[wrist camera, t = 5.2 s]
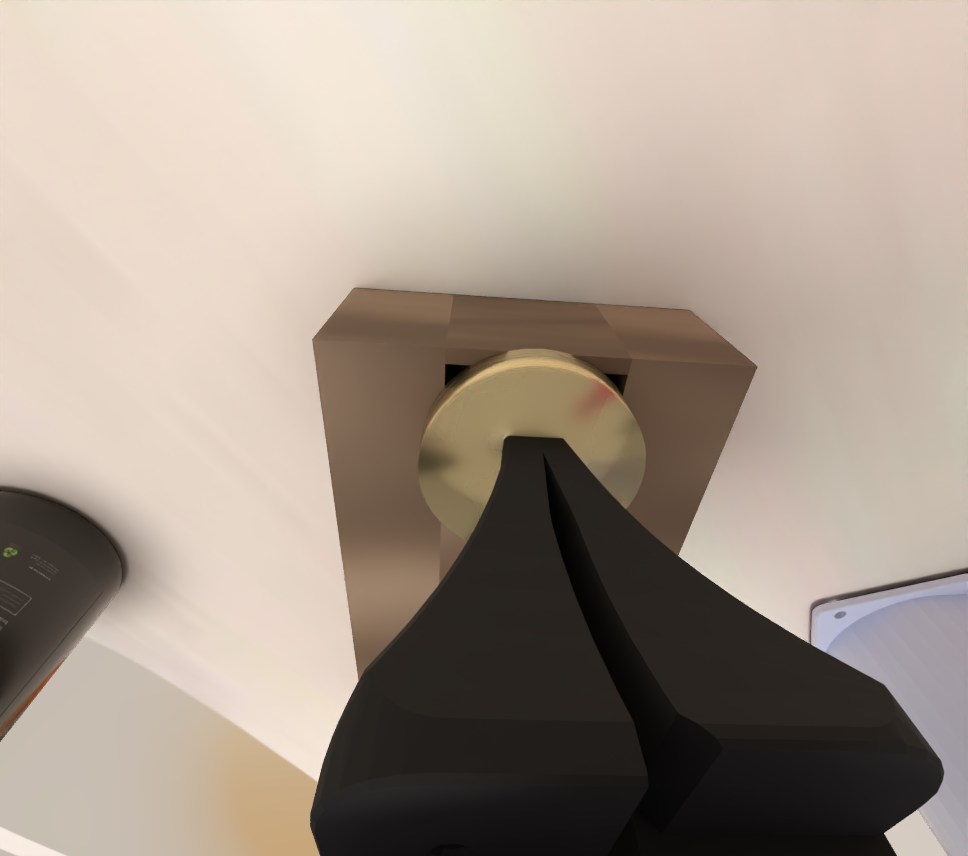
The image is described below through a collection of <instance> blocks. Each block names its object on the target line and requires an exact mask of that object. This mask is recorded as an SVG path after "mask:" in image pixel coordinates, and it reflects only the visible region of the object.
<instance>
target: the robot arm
mask: <svg viewBox="0 0 968 856" xmlns="http://www.w3.org/2000/svg"><path fill="white" fill-rule="evenodd" d="M917 809H918V811H919V812H920V814H921V815H922V817H923V819H924V820H925V821H926V823H927V825H928V826H929V828H930V829H931V831H932V832H933V834H934V835H935V837H936V838H937V840H938V841H939V843H940V845H941V846H942V848H943V849H944V851H945V852H946V853H947V855H948V856H968V573H966V574H961V575H957V576H952V577H947V578H943V579H938V580H933V581H929V582H924V583H919V584H914V585H910V586H905V587H900V588H896V589H891V590H886V591H882V592H877V593H872V594H868V595H863V596H858V597H854V598H849V599H844V600H839V601H835V602H830V603H825V604H822V605H819V606H817V607H815V608H814V609H813V612H812V630H811V644H809V643H807V642H805V641H804V640H802V639H800V638H799V637H797V636H795V635H794V634H792V633H790V632H789V631H787V630H785V629H784V628H782V627H780V626H779V625H777V624H776V623H774V622H772V621H771V620H769V619H767V618H766V617H764V616H763V615H761V614H759V613H758V612H756V611H755V610H753V609H752V608H750V607H749V606H747V605H745V604H744V603H742V602H741V601H739V600H738V599H736V598H735V597H733V596H732V595H730V594H729V593H728V592H726V591H725V590H723V589H722V588H721V587H719V586H718V585H716V584H715V583H714V582H712V581H711V580H709V579H708V578H707V577H705V576H704V575H702V574H701V573H700V572H698V571H697V570H696V569H694V568H693V567H692V566H690V565H689V564H688V563H686V562H685V561H684V560H683V559H681V558H680V557H679V556H678V555H676V554H675V553H674V552H673V551H672V550H670V549H669V548H668V547H667V546H666V545H664V544H663V543H662V542H661V541H660V540H658V539H657V538H656V537H655V536H654V535H653V534H651V533H650V532H649V531H648V530H647V529H646V528H645V527H644V526H643V525H642V524H641V523H640V522H638V521H637V520H636V519H635V518H634V517H633V516H632V515H631V514H630V513H629V512H628V511H627V510H626V509H625V508H624V507H623V506H622V505H621V504H620V503H619V502H618V501H617V500H616V499H615V498H614V497H613V496H612V495H611V493H610V492H609V491H608V490H607V489H606V488H605V487H604V486H603V485H602V484H601V482H600V481H599V480H598V479H597V478H596V477H595V476H594V474H593V473H592V472H591V471H590V470H589V469H588V467H587V466H586V465H585V464H584V463H583V461H582V460H581V459H580V458H579V457H578V455H577V454H576V453H575V452H574V451H573V449H572V448H571V447H570V446H569V445H568V443H567V442H566V441H565V440H564V439H563V438H546V437H527V436H508V437H506V438H505V439H504V440H503V449H502V458H501V467H500V471H499V474H498V477H497V479H496V482H495V485H494V488H493V491H492V493H491V496H490V498H489V500H488V502H487V504H486V507H485V509H484V511H483V513H482V515H481V517H480V519H479V521H478V523H477V525H476V527H475V529H474V531H473V533H472V534H471V536H470V538H469V539H468V541H467V543H466V545H465V546H464V548H463V550H462V551H461V553H460V554H459V556H458V557H457V559H456V560H455V562H454V563H453V565H452V566H451V568H450V569H449V571H448V572H447V574H446V575H445V577H444V578H443V579H442V581H441V582H440V584H439V585H438V586H437V588H436V589H435V590H434V591H433V593H432V594H431V595H430V596H429V598H428V599H427V600H426V601H425V603H424V604H423V605H422V606H421V608H420V609H419V610H418V611H417V613H416V614H415V615H414V616H413V618H412V619H411V620H410V621H409V622H408V624H407V625H406V626H405V627H404V628H403V629H402V630H401V631H400V632H399V634H398V635H397V636H396V637H395V638H394V639H393V640H392V641H391V642H390V643H389V644H388V645H387V646H386V647H385V649H384V650H383V651H382V652H381V653H380V654H379V655H378V656H377V657H376V658H375V659H374V660H373V661H372V662H371V663H370V665H369V666H368V667H367V668H366V669H365V670H364V672H363V674H362V676H361V678H360V680H359V682H358V683H357V685H356V687H355V689H354V691H353V693H352V695H351V697H350V699H349V701H348V703H347V705H346V707H345V709H344V711H343V713H342V716H341V718H340V720H339V722H338V724H337V727H336V729H335V731H334V734H333V736H332V739H331V742H330V744H329V747H328V750H327V753H326V756H325V758H324V762H323V765H322V769H321V773H320V777H319V781H318V785H317V789H316V793H315V797H314V802H313V806H312V810H311V815H310V821H311V823H310V827H311V830H312V833H313V836H314V839H315V842H316V845H317V848H318V850H319V854H320V856H897V855H896V853H895V852H894V850H893V848H892V847H891V845H890V843H889V841H888V840H887V838H886V836H885V835H884V833H885V832H886V831H887V830H889V829H890V828H892V827H893V826H895V825H896V824H897V823H899V822H900V821H901V820H903V819H904V818H906V817H907V816H909V815H910V814H912V813H913V812H914V811H916V810H917Z"/></svg>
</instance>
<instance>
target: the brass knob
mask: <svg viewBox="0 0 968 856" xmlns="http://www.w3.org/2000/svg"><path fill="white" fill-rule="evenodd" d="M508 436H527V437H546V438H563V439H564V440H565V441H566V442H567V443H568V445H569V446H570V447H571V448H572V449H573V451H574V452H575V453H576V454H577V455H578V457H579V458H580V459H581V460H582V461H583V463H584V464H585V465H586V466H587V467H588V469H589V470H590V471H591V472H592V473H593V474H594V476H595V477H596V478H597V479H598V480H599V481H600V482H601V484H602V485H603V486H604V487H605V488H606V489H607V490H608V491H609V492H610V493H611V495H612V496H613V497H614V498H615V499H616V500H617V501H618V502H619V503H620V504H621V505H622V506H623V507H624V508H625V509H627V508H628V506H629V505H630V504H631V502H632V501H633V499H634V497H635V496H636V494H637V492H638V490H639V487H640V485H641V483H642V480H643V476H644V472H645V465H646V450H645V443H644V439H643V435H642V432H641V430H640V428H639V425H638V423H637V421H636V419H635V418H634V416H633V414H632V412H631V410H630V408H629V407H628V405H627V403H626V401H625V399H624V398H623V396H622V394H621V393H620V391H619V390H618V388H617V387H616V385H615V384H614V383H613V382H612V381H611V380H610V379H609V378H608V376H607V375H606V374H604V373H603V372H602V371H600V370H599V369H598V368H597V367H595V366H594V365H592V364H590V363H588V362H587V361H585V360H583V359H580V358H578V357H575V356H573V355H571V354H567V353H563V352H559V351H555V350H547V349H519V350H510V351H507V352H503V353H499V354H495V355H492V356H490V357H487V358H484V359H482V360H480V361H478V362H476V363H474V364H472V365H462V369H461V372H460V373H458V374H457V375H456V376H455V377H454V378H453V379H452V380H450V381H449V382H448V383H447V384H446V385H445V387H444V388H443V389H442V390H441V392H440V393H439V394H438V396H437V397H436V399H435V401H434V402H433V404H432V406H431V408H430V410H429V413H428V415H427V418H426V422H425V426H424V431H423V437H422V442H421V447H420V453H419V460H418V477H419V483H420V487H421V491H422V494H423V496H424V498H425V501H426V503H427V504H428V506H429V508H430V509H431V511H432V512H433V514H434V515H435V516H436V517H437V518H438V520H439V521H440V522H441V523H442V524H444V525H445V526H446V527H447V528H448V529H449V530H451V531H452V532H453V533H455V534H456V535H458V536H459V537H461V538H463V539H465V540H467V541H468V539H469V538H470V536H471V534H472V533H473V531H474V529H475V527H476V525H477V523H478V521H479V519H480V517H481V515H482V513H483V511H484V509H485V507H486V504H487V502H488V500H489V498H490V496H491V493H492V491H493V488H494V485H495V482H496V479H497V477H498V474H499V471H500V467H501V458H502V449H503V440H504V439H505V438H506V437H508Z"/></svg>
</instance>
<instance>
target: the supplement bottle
mask: <svg viewBox="0 0 968 856" xmlns="http://www.w3.org/2000/svg"><path fill="white" fill-rule="evenodd" d="M121 579H122V567H121V562H120V559H119V557H118V555H117V553H116V550H115V549H114V547H113V546H112V544H111V543H110V542H109V540H108V539H107V538H106V537H105V536H104V535H103V534H102V533H101V532H100V531H99V530H98V529H97V528H95V527H94V526H93V525H92V524H90V523H89V522H88V521H86V520H85V519H83V518H82V517H80V516H79V515H77V514H75V513H73V512H72V511H70V510H68V509H66V508H64V507H62V506H60V505H57V504H55V503H53V502H50V501H47V500H44V499H41V498H38V497H35V496H31V495H27V494H22V493H17V492H9V491H0V742H1V740H2V739H3V738H4V737H5V735H6V734H7V733H8V731H9V730H10V729H11V728H12V726H13V725H14V723H16V721H17V720H18V719H19V718H20V716H21V715H22V714H23V712H24V711H25V710H26V709H27V707H28V706H29V705H30V704H31V702H32V701H33V700H34V698H35V697H36V696H37V695H38V693H39V692H40V691H41V690H42V688H43V687H44V686H45V685H46V683H47V682H48V681H49V679H50V678H51V677H52V676H53V674H54V673H55V672H56V671H57V669H58V668H59V667H60V665H61V664H62V663H63V662H64V660H65V659H66V658H67V656H68V655H69V654H70V653H71V652H72V650H73V649H74V648H75V647H76V645H77V644H78V643H79V641H80V640H81V639H82V638H83V636H84V635H85V634H86V633H87V631H88V630H89V629H90V628H91V626H92V625H93V624H94V622H95V621H96V620H97V619H98V617H99V616H100V615H101V613H102V612H103V611H104V609H105V608H106V607H107V605H108V604H109V603H110V602H111V600H112V599H113V598H114V596H115V594H116V593H117V591H118V589H119V587H120V584H121Z"/></svg>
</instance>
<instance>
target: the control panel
mask: <svg viewBox="0 0 968 856" xmlns="http://www.w3.org/2000/svg"><path fill="white" fill-rule="evenodd" d="M312 340H313V348H314V355H315V362H316V370H317V377H318V385H319V392H320V399H321V407H322V414H323V421H324V429H325V436H326V444H327V451H328V458H329V466H330V473H331V480H332V488H333V495H334V502H335V510H336V517H337V525H338V532H339V539H340V547H341V554H342V561H343V569H344V576H345V584H346V591H347V598H348V606H349V613H350V620H351V628H352V635H353V642H354V650H355V657H356V665H357V672H358V679H359V680H360V678H361V676H362V674H363V672H364V670H365V669H366V668H367V667H368V666H369V665H370V663H371V662H372V661H373V660H374V659H375V658H376V657H377V656H378V655H379V654H380V653H381V652H382V651H383V650H384V649H385V647H386V646H387V645H388V644H389V643H390V642H391V641H392V640H393V639H394V638H395V637H396V636H397V635H398V634H399V632H400V631H401V630H402V629H403V628H404V627H405V626H406V625H407V624H408V622H409V621H410V620H411V619H412V618H413V616H414V615H415V614H416V613H417V611H418V610H419V609H420V608H421V606H422V605H423V604H424V603H425V601H426V600H427V599H428V598H429V596H430V595H431V594H432V593H433V591H434V590H435V589H436V588H437V586H438V585H439V584H440V582H441V581H442V579H443V578H444V577H445V575H446V574H447V572H448V571H449V569H450V568H451V566H452V565H453V563H454V562H455V560H456V559H457V557H458V556H459V554H460V553H461V551H462V550H463V548H464V546H465V545H466V543H467V540H465V539H463V538H461V537H459V536H458V535H456V534H455V533H453V532H452V531H451V530H449V529H448V528H447V527H446V526H445V525H444V524H442V523H441V522H440V521H439V520H438V518H437V517H436V516H435V515H434V514H433V512H432V511H431V509H430V508H429V506H428V504H427V503H426V501H425V498H424V496H423V494H422V491H421V487H420V483H419V477H418V460H419V453H420V447H421V442H422V437H423V431H424V426H425V422H426V418H427V415H428V413H429V410H430V408H431V406H432V404H433V402H434V401H435V399H436V397H437V396H438V394H439V393H440V392H441V390H442V389H443V388H444V387H445V385H446V384H447V383H448V382H449V381H450V380H451V364H455V365H472V364H474V363H476V362H478V361H480V360H482V359H484V358H487V357H490V356H492V355H495V354H499V353H503V352H507V351H510V350H519V349H547V350H555V351H559V352H563V353H567V354H571V355H573V356H575V357H578V358H580V359H583V360H585V361H587V362H588V363H590V364H592V365H594V366H595V367H597V368H598V369H599V370H600V371H602V372H603V373H604V374H606V375H607V376H608V378H609V379H610V380H611V381H612V382H613V383H614V384H615V385H616V387H617V388H618V390H619V391H620V393H621V394H622V396H623V398H624V399H625V401H626V403H627V405H628V407H629V408H630V410H631V412H632V414H633V416H634V418H635V419H636V421H637V423H638V425H639V428H640V430H641V432H642V435H643V439H644V443H645V450H646V465H645V472H644V476H643V480H642V483H641V485H640V487H639V490H638V492H637V494H636V496H635V497H634V499H633V501H632V502H631V504H630V505H629V506H628V508H627V509H626V510H627V511H628V512H629V513H630V514H631V515H632V516H633V517H634V518H635V519H636V520H637V521H638V522H640V523H641V524H642V525H643V526H644V527H645V528H646V529H647V530H648V531H649V532H650V533H651V534H653V535H654V536H655V537H656V538H657V539H658V540H660V541H661V542H662V543H663V544H664V545H666V546H667V547H668V548H669V549H670V550H672V551H673V552H674V553H675V554H676V555H679V552H680V550H681V547H682V545H683V543H684V540H685V538H686V535H687V533H688V531H689V528H690V526H691V524H692V521H693V519H694V516H695V514H696V512H697V509H698V507H699V505H700V502H701V500H702V497H703V495H704V493H705V490H706V488H707V485H708V483H709V481H710V478H711V476H712V474H713V471H714V469H715V466H716V464H717V462H718V459H719V457H720V455H721V452H722V450H723V447H724V445H725V443H726V440H727V438H728V435H729V433H730V431H731V428H732V426H733V424H734V421H735V419H736V416H737V414H738V412H739V409H740V407H741V405H742V402H743V400H744V397H745V395H746V393H747V390H748V388H749V386H750V383H751V381H752V378H753V376H754V374H755V371H756V369H757V366H756V365H755V364H754V363H753V362H752V361H750V360H749V359H748V358H747V357H746V356H744V355H743V354H742V353H741V352H740V351H738V350H737V349H736V348H735V347H734V346H732V345H731V344H730V343H729V342H727V341H726V340H725V339H724V338H723V337H721V336H720V335H719V334H718V333H717V332H715V331H714V330H713V329H712V328H711V327H709V326H708V325H707V324H706V323H705V322H703V321H702V320H701V319H700V318H699V317H697V316H696V315H695V314H694V313H692V312H691V311H690V310H678V309H663V308H648V307H633V306H617V305H602V304H587V303H572V302H557V301H542V300H527V299H512V298H497V297H482V296H467V295H451V294H436V293H421V292H406V291H391V290H376V289H361V288H354V289H353V290H352V291H351V292H350V294H349V295H348V296H347V297H346V299H345V300H344V301H343V302H342V303H341V305H340V306H339V307H338V308H337V310H336V311H335V312H334V313H333V314H332V316H331V317H330V318H329V319H328V321H327V322H326V323H325V324H324V326H323V327H322V328H321V329H320V330H319V332H318V333H317V334H316V335H315V337H314V338H313V339H312Z"/></svg>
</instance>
